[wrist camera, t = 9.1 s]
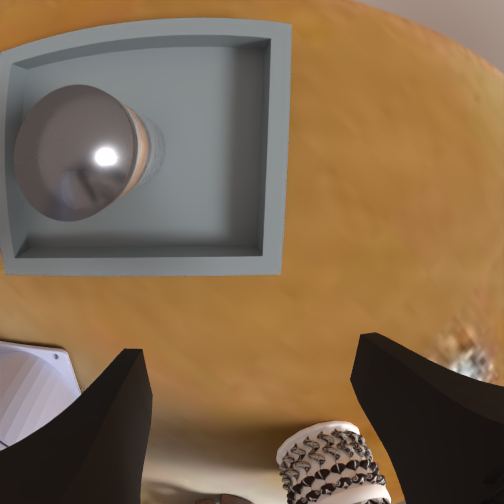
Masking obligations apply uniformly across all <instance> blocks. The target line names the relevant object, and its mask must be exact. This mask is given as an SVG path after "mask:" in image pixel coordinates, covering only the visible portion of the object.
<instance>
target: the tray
mask: <svg viewBox="0 0 504 504" xmlns="http://www.w3.org/2000/svg"><path fill="white" fill-rule="evenodd" d="M291 25H292V24H287V23H280V22H271V21H261V20H249V19H233V18H171V19H155V20H143V21H133V22H125V23H117V24H110V25H104V26H98V27H92V28H87V29H82V30H77V31H72V32H68V33H64V34H60V35H55V36H52V37H48V38H44V39H41V40H37V41H34V42H30V43H27V44H24V45H21V46H18V47H15V48H12V49H9V50H6V51H3V52H1V55H0V248H1V254H2V259H3V264H4V269H5V274H6V275H47V276H228V275H277V274H281V265H282V250H283V235H284V219H285V201H286V182H287V162H288V139H289V113H290V80H291ZM79 84H82V85H89V86H93V87H96V88H99V89H101V90H103V91H105V92H106V93H108V94H110V95H112V96H113V97H114V98H116V99H117V100H119V101H120V102H121V103H123V104H124V105H126V106H128V107H130V108H131V109H133V110H135V111H137V112H138V113H140V114H142V115H144V116H145V117H147V118H149V119H150V120H152V121H153V122H154V123H155V124H156V125H157V126H158V127H159V129H160V130H161V132H162V134H163V137H164V140H165V157H164V161H163V163H162V166H161V168H160V169H159V171H158V172H157V174H156V175H155V176H154V177H153V178H152V179H151V180H149V181H148V182H147V183H145V184H143V185H141V186H140V187H138V188H136V189H134V190H132V191H131V192H129V193H127V194H125V195H124V196H122V197H120V198H118V199H117V200H115V201H114V202H113V203H112V204H110V205H109V206H107V207H106V208H104V209H103V210H101V211H100V212H98V213H96V214H95V215H93V216H91V217H89V218H86V219H83V220H79V221H72V222H64V221H57V220H54V219H51V218H48V217H46V216H44V215H43V214H41V213H39V212H38V211H37V210H36V209H34V208H33V207H32V206H31V205H30V203H29V202H28V201H27V200H26V198H25V197H24V195H23V193H22V192H21V190H20V187H19V185H18V182H17V179H16V175H15V169H14V149H15V143H16V138H17V135H18V132H19V129H20V127H21V125H22V123H23V121H24V119H25V117H26V116H27V114H28V113H29V112H30V110H31V109H32V108H33V107H34V105H35V104H36V103H37V102H38V101H39V100H41V99H42V98H43V97H44V96H46V95H47V94H49V93H50V92H52V91H54V90H56V89H58V88H61V87H64V86H69V85H79Z"/></svg>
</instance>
